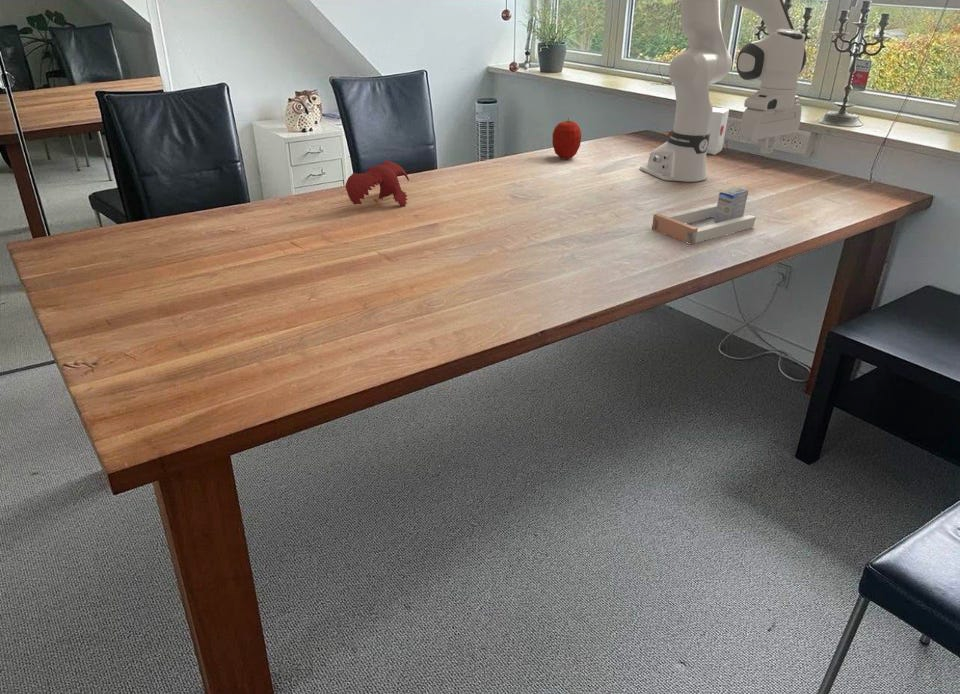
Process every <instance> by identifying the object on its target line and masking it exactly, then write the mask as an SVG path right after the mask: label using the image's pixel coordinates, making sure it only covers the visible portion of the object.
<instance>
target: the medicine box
mask: <svg viewBox="0 0 960 694" xmlns="http://www.w3.org/2000/svg"><path fill="white" fill-rule="evenodd" d="M748 195H749V190H748V189H746V188H742V187H737V186H732V187H730V188H727V189H725V190H722V191H720V192H719V194H718V197H717V198H718V199H717V203H716V204H717V209H716V214H715V217H714V220H713V223H714V222H715V223H719V222H723V221H727V220H731V219H735V218H739V217H743V216H744V213H745V209H746V205H747V200H748ZM715 223H714V224H715Z"/></svg>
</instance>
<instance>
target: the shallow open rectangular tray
mask: <svg viewBox="0 0 960 694" xmlns="http://www.w3.org/2000/svg"><path fill="white" fill-rule="evenodd" d="M716 209H717V203H715V202H714V203H710V204H707V205H702V206H697V207H694V208H690V209H685V210H681V211H676V212H672V213H668V214H661V213H658V212H656V213H653V218H652V225H651V230H653V231H656V230H657V231H656V232H659V233H661V234H664V233H665V234H664V235H666V234H667V235H666V236H668V235H670V236H669V237H671V236H672V237H671V238H673V237H675V238H674V239H676V238H677V239H676V240H678V239H680V240H679V241H681V240H683V241H685V242H684V243H686V242H688V243H690V244H689V245H694V244H693V243H695V244H698V243H697V242H699V243H702V242H705V241H704V240H706V241H709V240H708V239H710V240H713V239H712V238H714V239H716V237H717V238H721V237H724V236H723V235H725V236H727V235H726V234H728V235H731V234H730V233H732V234H734V233H733V232H736V233H738V232H737V231H740V232H742V231H741V230H743V231H745V230H744V229H747V230H749V229H748V228H751V229H753V228H752V227H755V224H756V223H755V221H756V216H754V215H751V214H748V215H743V217H739V218H735V219H731V220H727V221H723V222H719V223H712V224H708V225H704V226H701V227H696V226H693V225H690V223H689V222H692V223H694V222H693V221H696V222H699V221H698V220H700V221H703V220H702V219H704V220H706V219H705V218H708V219H710V218H709V217H712V218H714V217H713V216H715V214H716ZM685 223H688V224H685ZM720 236H721V237H720ZM683 241H682V242H683ZM701 241H702V242H701ZM688 243H687V244H688Z"/></svg>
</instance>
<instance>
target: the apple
mask: <svg viewBox="0 0 960 694" xmlns="http://www.w3.org/2000/svg"><path fill="white" fill-rule="evenodd" d="M581 131H582V130H581V128H580V126H579V124H578V123H577V122H574V121H572V120H570V118H569V117H568V118H567V120H564V121H561V122H559V123H558V124H557V125H556V126H555V127H554V129H553V131H552V148H553V150H554V153H555V155H557V156H558V158H559V159H563V160H571V159H573V158H574V156H576V154H577V153H578V151H579V149H580V147H581V142H582V132H581Z"/></svg>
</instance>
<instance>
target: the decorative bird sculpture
mask: <svg viewBox="0 0 960 694" xmlns="http://www.w3.org/2000/svg"><path fill="white" fill-rule="evenodd" d="M400 175H401V176H402V175H403V176H405V178H406V180H407V181H408V182H409V181H410V179H409V177H408V174H407V172H406V170H405V169H404V168H403V167H402V166H400V165H399V164H397V163H395V162H392V161H390V160H384V161H382V164H379V165H375V166H370V167H368V168H367V169H366V172H363V173H356V172H354V173H351V174H350V176H349V177H348V178H347V180H346V182H345V190H346V192H347V196H348V198H349V199H350V202H351V203H352V204H353V205H361V204H362V203H363V202H362V201H361V200H364V199H365V195H366V196H369V195H370V193H369V191H373V190H372V188H376V186H379V194H378V198H377V199H376V198H375V199H374V198H373V200H372V202H376V203H378V200H380V199H381V200H382V201H383V200H384V198H386V197H389V196H391V195H393V198H392V200H394V201H395V203H398V205H400V207H406V205H407V204H408V203H407V201H408V198H407V197H408V194H407V192H405V191H403V190H402V187H401V185H400V181H399V177H398V176H400Z"/></svg>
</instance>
